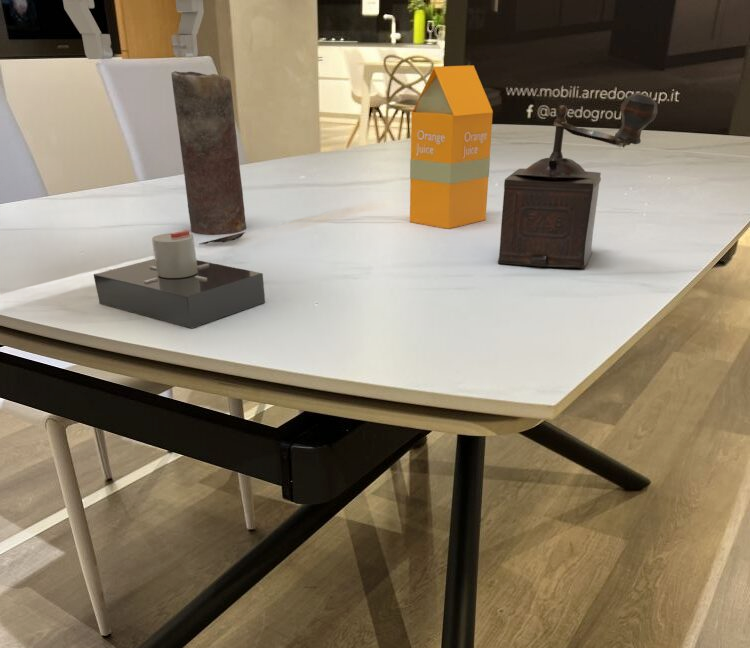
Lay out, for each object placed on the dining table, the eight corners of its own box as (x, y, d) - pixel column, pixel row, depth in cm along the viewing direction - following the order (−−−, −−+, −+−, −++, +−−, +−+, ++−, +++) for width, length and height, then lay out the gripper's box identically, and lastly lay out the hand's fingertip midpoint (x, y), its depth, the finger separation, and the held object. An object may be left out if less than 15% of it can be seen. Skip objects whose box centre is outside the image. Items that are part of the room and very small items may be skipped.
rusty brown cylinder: (212, 233, 105) (191, 70, 95) (257, 236, 103) (241, 69, 92) (182, 245, 99) (156, 72, 88) (230, 248, 97) (209, 71, 86)
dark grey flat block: (99, 303, 76) (92, 272, 75) (174, 281, 83) (169, 253, 82) (191, 328, 69) (187, 294, 68) (265, 302, 76) (262, 271, 74)
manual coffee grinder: (493, 265, 88) (506, 93, 79) (510, 244, 97) (523, 87, 88) (629, 275, 84) (660, 94, 74) (633, 253, 93) (661, 88, 83)
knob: (175, 280, 72) (169, 240, 70) (149, 274, 74) (142, 235, 72) (206, 271, 75) (201, 232, 73) (179, 266, 77) (174, 228, 75)
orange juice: (408, 221, 110) (411, 66, 100) (447, 213, 116) (452, 65, 105) (449, 229, 106) (455, 67, 95) (487, 220, 111) (497, 65, 101)
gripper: (16, -182, 49) (62, 61, 56) (237, -132, 63) (251, 57, 70) (-35, -169, 52) (15, 59, 59) (187, -124, 66) (205, 56, 73)
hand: (145, 58), depth 65 cm, fingers open, 8 cm apart
